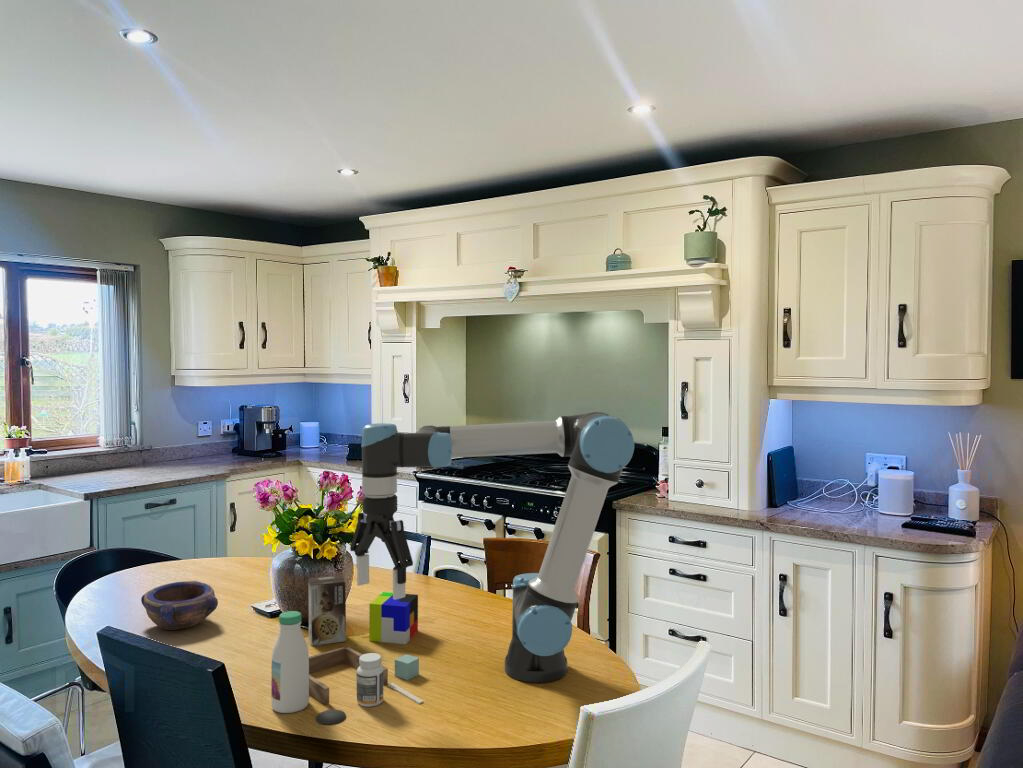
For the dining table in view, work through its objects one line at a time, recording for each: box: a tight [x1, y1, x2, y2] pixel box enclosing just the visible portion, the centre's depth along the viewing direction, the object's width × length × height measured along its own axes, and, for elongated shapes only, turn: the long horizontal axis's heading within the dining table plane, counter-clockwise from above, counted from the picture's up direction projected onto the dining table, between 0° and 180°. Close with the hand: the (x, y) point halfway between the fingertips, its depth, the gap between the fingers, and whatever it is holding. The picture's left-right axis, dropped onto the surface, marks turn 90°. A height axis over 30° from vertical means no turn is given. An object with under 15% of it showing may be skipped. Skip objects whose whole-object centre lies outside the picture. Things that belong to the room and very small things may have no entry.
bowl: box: [140, 580, 219, 631], centre depth 211 cm, size 18×18×10 cm
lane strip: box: [387, 682, 424, 705], centre depth 171 cm, size 12×1×1 cm, turn 43°
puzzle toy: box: [368, 591, 419, 645], centre depth 205 cm, size 10×10×10 cm
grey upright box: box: [307, 574, 347, 647], centre depth 202 cm, size 9×6×16 cm
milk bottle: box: [270, 610, 310, 714], centre depth 164 cm, size 8×8×20 cm
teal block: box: [394, 653, 420, 681], centre depth 181 cm, size 4×4×4 cm
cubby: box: [309, 645, 389, 706], centre depth 177 cm, size 18×16×4 cm
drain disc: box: [315, 709, 347, 725], centre depth 159 cm, size 6×6×1 cm
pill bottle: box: [356, 652, 384, 708], centre depth 166 cm, size 6×6×10 cm
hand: (380, 591), depth 168 cm, fingers open, 13 cm apart
